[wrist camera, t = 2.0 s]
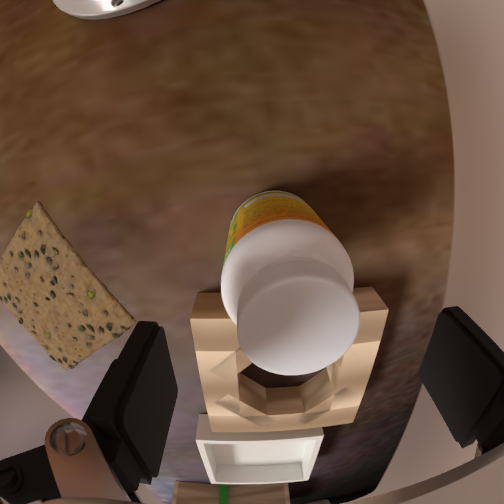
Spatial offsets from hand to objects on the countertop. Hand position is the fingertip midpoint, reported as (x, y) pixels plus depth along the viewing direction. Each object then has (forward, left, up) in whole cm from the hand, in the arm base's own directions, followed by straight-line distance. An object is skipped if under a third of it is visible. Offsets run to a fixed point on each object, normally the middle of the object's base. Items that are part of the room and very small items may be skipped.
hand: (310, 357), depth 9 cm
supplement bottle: (-1, 0, -10) cm, 10 cm away
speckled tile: (+4, -18, -11) cm, 22 cm away
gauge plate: (+9, +1, -10) cm, 14 cm away
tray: (+22, -1, -10) cm, 24 cm away
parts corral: (+40, -5, -10) cm, 42 cm away
